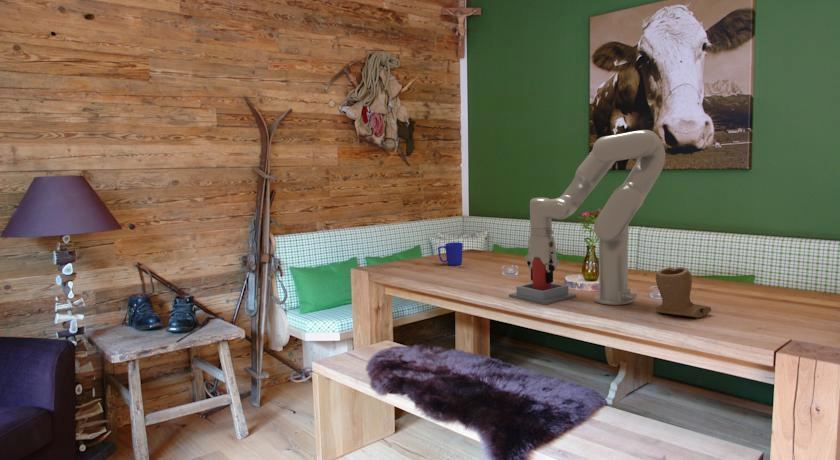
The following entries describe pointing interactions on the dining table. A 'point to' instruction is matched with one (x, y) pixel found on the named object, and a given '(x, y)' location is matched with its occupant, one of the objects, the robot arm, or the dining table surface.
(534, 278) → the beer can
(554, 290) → the box
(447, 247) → the mug
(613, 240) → the robot arm
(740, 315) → the dining table surface
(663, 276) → the brown l-shaped piece
